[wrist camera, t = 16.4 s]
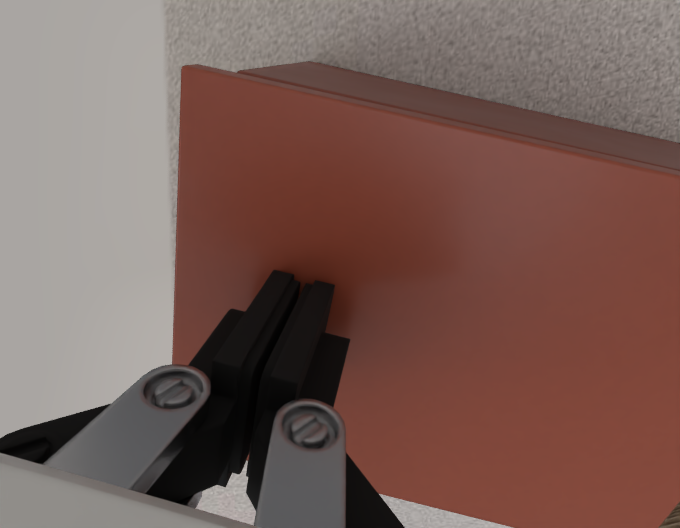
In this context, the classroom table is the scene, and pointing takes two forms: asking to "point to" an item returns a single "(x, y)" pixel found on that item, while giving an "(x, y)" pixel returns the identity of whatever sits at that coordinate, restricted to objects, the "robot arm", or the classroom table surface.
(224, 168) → the chest lid
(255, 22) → the classroom table surface
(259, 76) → the chest
